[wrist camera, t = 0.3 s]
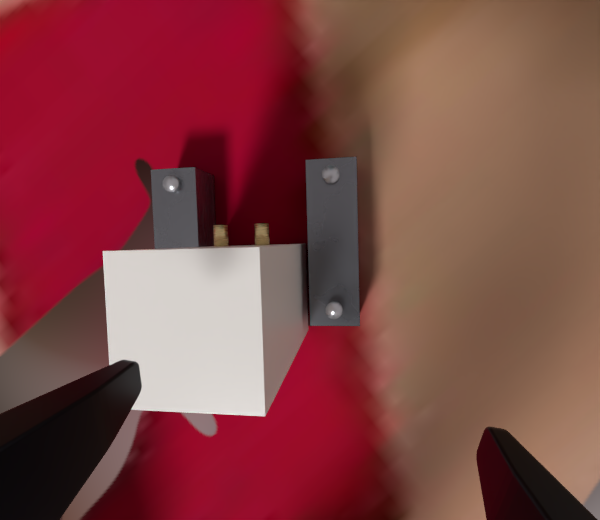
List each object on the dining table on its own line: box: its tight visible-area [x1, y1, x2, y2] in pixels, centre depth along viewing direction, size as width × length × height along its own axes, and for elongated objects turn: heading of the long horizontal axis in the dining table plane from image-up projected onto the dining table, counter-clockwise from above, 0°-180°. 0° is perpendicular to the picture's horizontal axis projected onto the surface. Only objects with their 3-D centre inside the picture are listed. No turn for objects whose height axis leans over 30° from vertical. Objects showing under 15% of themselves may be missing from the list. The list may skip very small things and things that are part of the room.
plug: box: [103, 223, 308, 416], centre depth 19 cm, size 7×6×12 cm
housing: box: [151, 157, 360, 326], centre depth 23 cm, size 10×13×3 cm
